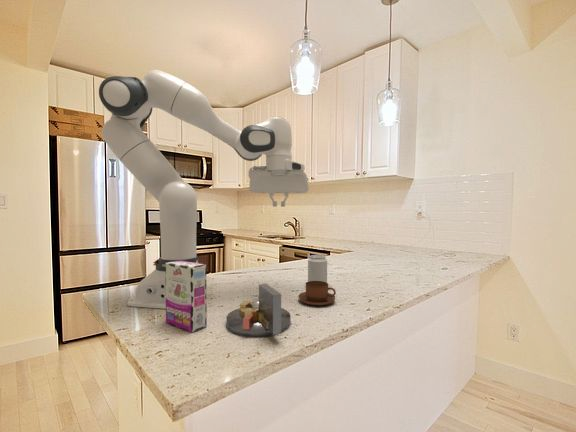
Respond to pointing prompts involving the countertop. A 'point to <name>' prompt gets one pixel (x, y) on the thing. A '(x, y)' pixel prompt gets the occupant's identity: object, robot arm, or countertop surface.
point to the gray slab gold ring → (265, 309)
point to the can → (317, 268)
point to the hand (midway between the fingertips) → (278, 206)
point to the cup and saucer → (317, 293)
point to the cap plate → (257, 327)
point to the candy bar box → (186, 295)
